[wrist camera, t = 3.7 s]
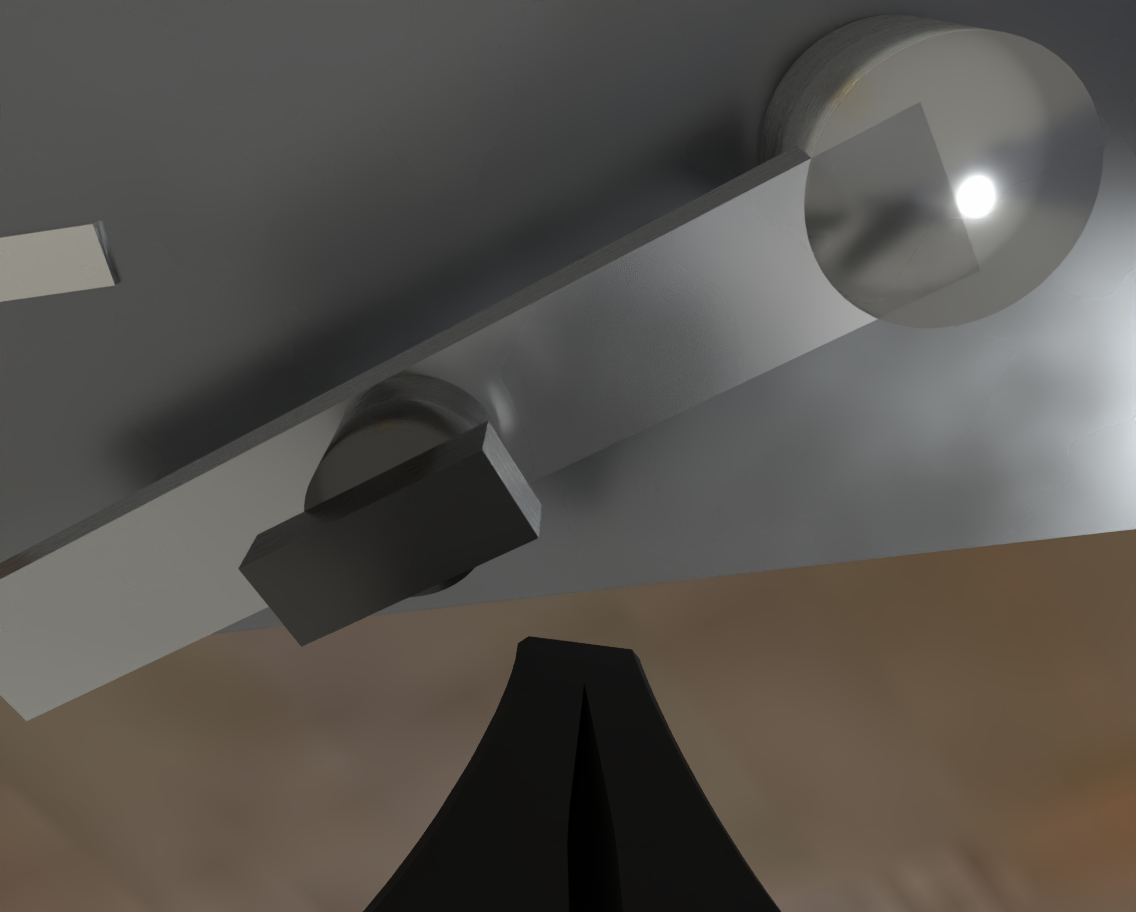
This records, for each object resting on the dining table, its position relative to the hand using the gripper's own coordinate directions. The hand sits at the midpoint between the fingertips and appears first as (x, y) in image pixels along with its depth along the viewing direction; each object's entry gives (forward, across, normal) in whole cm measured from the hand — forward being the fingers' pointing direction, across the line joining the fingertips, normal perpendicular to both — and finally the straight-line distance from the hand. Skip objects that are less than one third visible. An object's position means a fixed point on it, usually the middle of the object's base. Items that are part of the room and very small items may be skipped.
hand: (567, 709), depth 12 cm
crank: (+3, +2, -3) cm, 5 cm away
